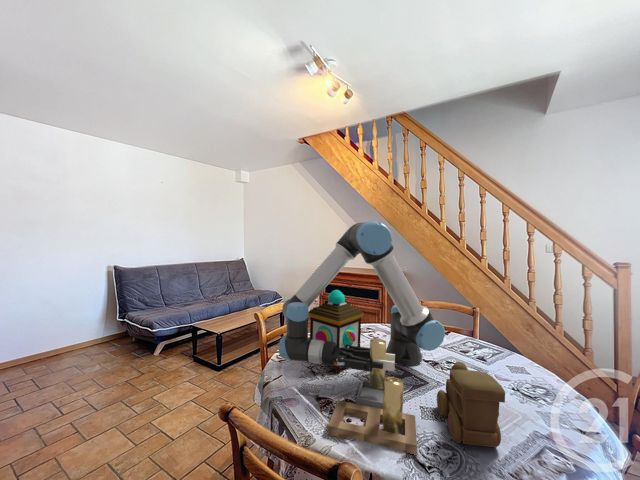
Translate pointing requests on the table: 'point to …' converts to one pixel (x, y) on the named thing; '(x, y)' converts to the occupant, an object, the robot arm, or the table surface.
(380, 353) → the cylinder
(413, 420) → the wooden holder frame
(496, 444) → the wooden toy train
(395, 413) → the cylinder
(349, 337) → the decorative lantern
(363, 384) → the grey square tray
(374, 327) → the table surface
